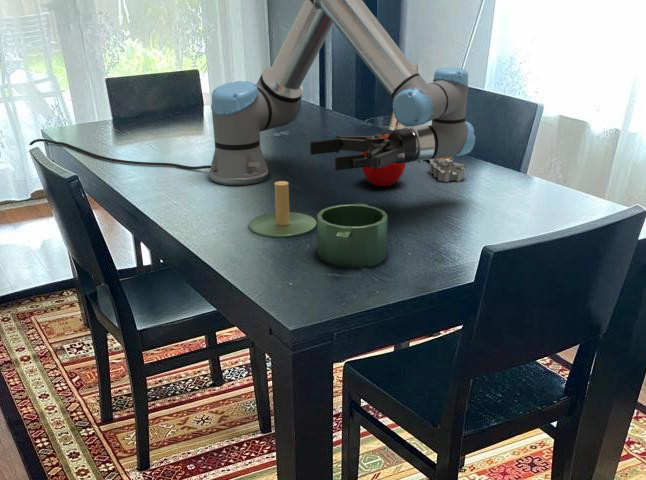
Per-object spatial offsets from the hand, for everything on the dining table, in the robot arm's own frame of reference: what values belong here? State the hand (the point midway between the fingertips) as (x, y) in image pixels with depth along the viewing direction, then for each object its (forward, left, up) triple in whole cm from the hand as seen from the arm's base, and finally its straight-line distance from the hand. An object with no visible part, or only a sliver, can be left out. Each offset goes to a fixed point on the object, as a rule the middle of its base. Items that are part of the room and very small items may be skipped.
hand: (322, 155), depth 164 cm
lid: (-8, -6, -14) cm, 17 cm away
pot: (+10, -18, -15) cm, 25 cm away
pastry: (+20, +54, -15) cm, 60 cm away
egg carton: (+23, +41, -15) cm, 50 cm away
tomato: (+8, +30, -15) cm, 35 cm away
